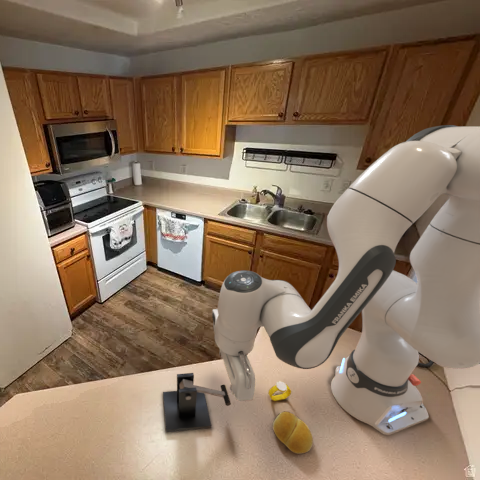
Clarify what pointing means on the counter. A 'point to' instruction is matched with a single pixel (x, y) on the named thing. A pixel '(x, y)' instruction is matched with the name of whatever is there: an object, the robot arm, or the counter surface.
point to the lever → (207, 390)
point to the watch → (282, 388)
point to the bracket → (185, 408)
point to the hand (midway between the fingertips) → (228, 373)
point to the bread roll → (292, 432)
